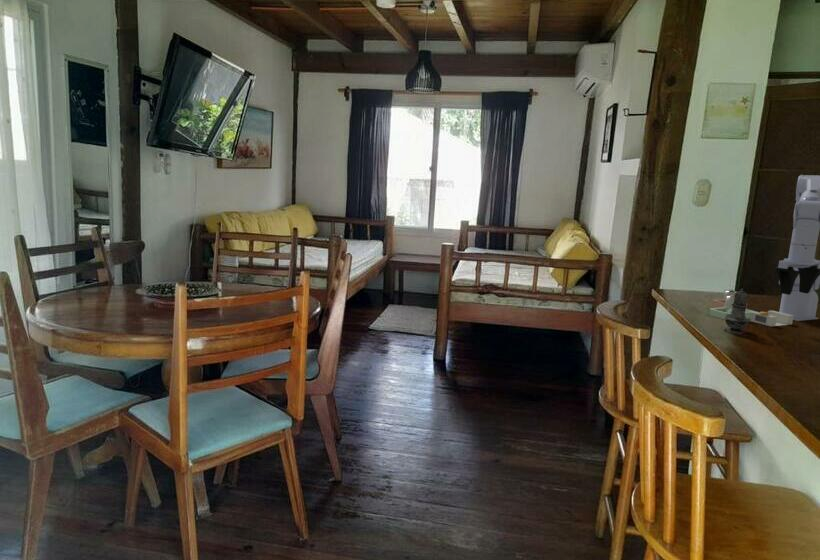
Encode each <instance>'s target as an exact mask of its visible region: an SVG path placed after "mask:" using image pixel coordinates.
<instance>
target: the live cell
mask: <svg viewBox="0 0 820 560" xmlns="http://www.w3.org/2000/svg"><path fill="white" fill-rule="evenodd" d="M734 297H735V296H734V295H730V296H729V295H727V296H726V299H725V305H724V310H723V312H725V313H732V307H733V305H732V304H733V303H734Z"/></svg>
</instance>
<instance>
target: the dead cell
mask: <svg viewBox="0 0 820 560" xmlns="http://www.w3.org/2000/svg"><path fill="white" fill-rule="evenodd" d="M736 292H737V291H736V290H733V289H728V290H727V289H726V290H725V289H724V290H723V302H724V303H725V299H726V296H727V295H729V296H730V295H734V296H735V293H736Z"/></svg>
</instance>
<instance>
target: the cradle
mask: <svg viewBox="0 0 820 560" xmlns="http://www.w3.org/2000/svg"><path fill="white" fill-rule="evenodd" d="M793 316H794V315H789V314H785V313H781V312H779V311H776V310H767V311H760V312H759V311H756V312H751V318H750V319H749V320H750V322H753V323H757V324H759V325H764V326H767V327H782V326H789V325H790V326H791V325H793Z"/></svg>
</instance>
